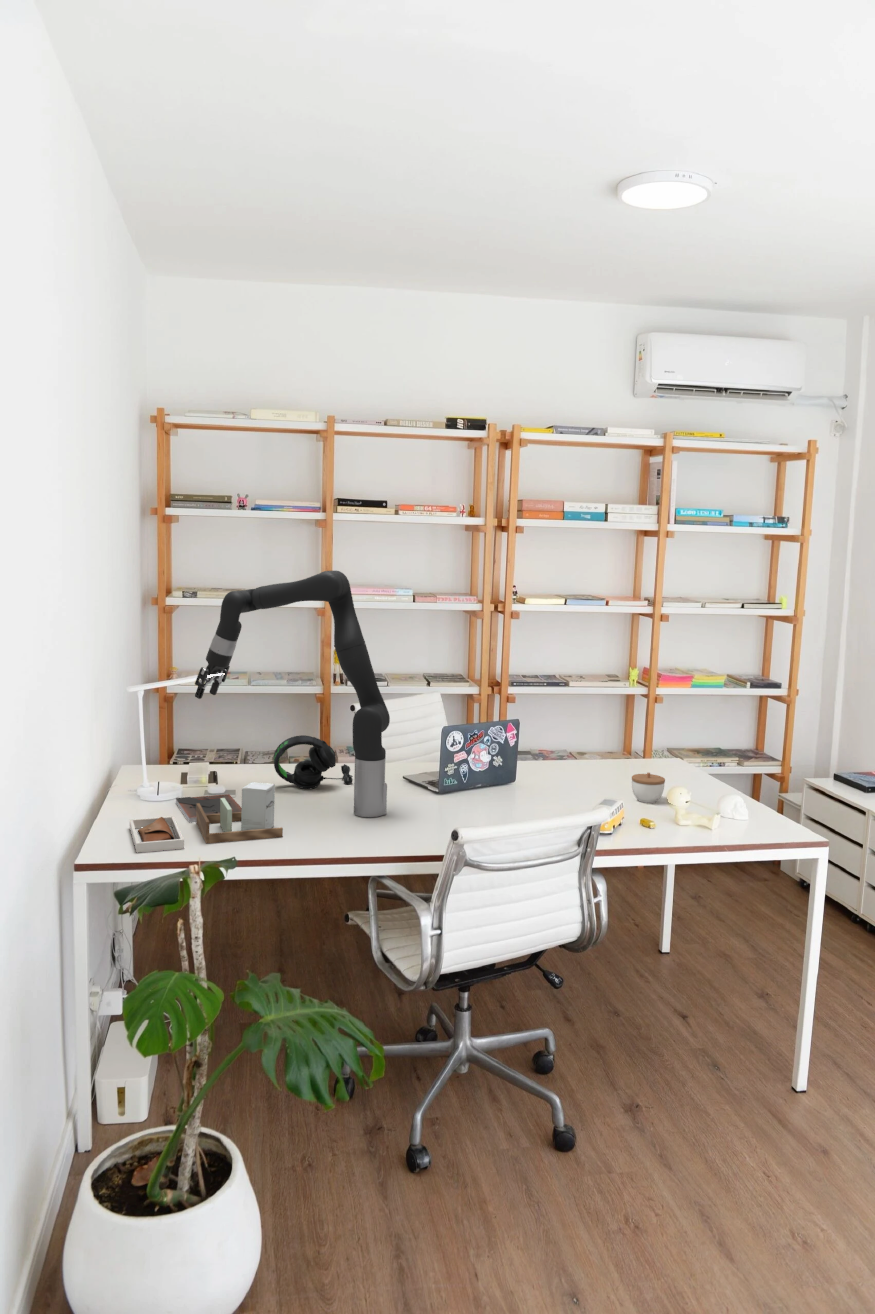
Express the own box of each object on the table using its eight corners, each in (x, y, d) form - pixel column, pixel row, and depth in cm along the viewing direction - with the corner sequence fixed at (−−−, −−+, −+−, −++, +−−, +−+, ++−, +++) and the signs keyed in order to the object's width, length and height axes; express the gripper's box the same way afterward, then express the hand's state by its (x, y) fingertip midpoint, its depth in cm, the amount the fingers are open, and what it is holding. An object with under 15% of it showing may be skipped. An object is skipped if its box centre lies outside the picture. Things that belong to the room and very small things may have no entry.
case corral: (174, 824, 275) (174, 816, 275) (184, 848, 255) (184, 839, 254) (129, 828, 270) (129, 819, 270) (136, 852, 250) (136, 843, 250)
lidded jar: (636, 794, 325) (638, 767, 324) (667, 799, 320) (669, 772, 319) (625, 801, 316) (627, 773, 315) (657, 806, 311) (659, 778, 310)
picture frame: (175, 805, 297) (189, 825, 277) (175, 797, 296) (189, 817, 277) (229, 801, 304) (245, 820, 284) (229, 793, 303) (245, 811, 284)
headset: (337, 810, 325) (263, 776, 313) (334, 784, 337) (263, 750, 324) (368, 774, 319) (294, 738, 306) (364, 748, 330) (292, 713, 318)
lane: (268, 818, 284) (268, 798, 284) (282, 836, 267) (282, 815, 267) (196, 823, 277) (196, 803, 276) (206, 843, 260) (206, 821, 259)
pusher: (224, 824, 276) (224, 797, 275) (231, 837, 265) (231, 809, 264) (220, 825, 276) (220, 798, 275) (227, 837, 265) (227, 809, 264)
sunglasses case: (134, 830, 269) (147, 809, 270) (157, 840, 272) (169, 819, 272) (143, 849, 253) (156, 827, 253) (167, 860, 256) (180, 838, 256)
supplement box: (265, 833, 270) (265, 789, 268) (240, 831, 271) (240, 787, 270) (274, 826, 277) (275, 783, 275) (250, 823, 278) (251, 781, 277)
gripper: (219, 657, 295) (202, 704, 298) (243, 652, 308) (226, 697, 312) (199, 647, 296) (183, 694, 300) (223, 642, 310) (207, 687, 314)
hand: (205, 695), depth 306 cm, fingers open, 8 cm apart
